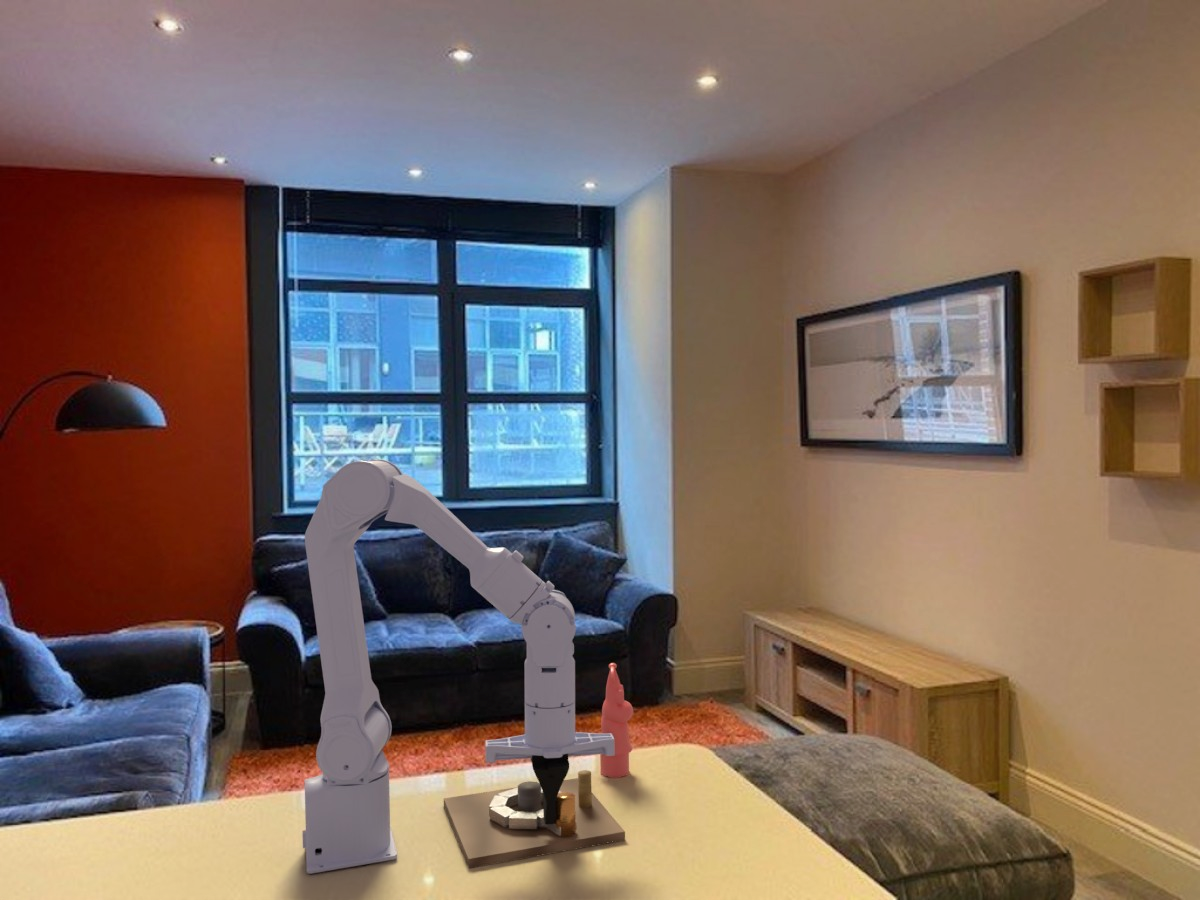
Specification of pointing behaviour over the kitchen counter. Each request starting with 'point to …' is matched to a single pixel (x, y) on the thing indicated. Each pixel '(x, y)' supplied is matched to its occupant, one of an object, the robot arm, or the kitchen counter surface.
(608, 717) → the figurine
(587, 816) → the peg base
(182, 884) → the kitchen counter surface
